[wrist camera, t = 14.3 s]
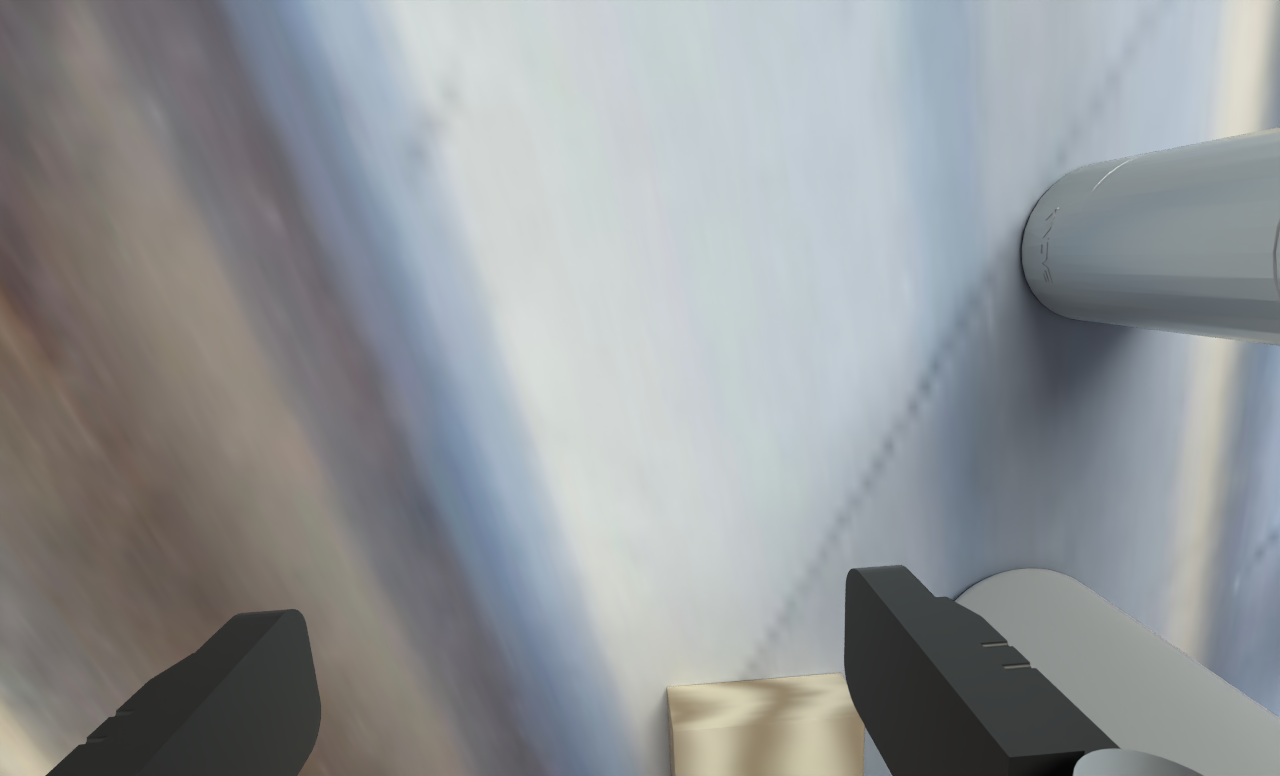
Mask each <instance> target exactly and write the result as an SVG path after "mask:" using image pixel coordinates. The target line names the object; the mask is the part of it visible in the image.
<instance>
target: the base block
mask: <svg viewBox="0 0 1280 776" xmlns="http://www.w3.org/2000/svg"><path fill="white" fill-rule="evenodd" d="M667 696H668V717H669V737H670V758H671V776H863V770H864V735H865V725H864V723H863V721H862V720H861V718H860V716H859V714H858V712H857V711H856V709H855V707H854V704H853V702H852V699H851V696H850V693H849V689H848V685H847V683H846V681H845V679H844V677H843V676H842V674H841V673H834V674H821V675H809V676H797V677H785V678H773V679H760V680H748V681H736V682H724V683H712V684H699V685H687V686H675V687H667Z"/></svg>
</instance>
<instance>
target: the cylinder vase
mask: <svg viewBox="0 0 1280 776" xmlns="http://www.w3.org/2000/svg"><path fill="white" fill-rule="evenodd" d="M955 602H956V603H958V604H960V605H962V606H964V607H966V608H967V609H969V610H971V611H973V612H975V613H977V614H978V615H980V616H982V617H983V618H984V619H985V620H986V621H987V622H988V623H989V624H990V625H991V626H992V627H993V628H994V629H996V630H997V631H998V632H999V633H1000V634H1001V635H1002V636H1003V637H1004V638H1005V639H1006V640H1007V641H1008V645H1009V646H1013V647H1014V648H1016V649H1017V650H1018V651H1019V652H1020V653H1021V654H1022V655H1023V656H1024V657H1025V658H1026V659H1027V660H1028V661H1029V662H1030V665H1031V668H1037V669H1038V670H1039V671H1040V672H1041V673H1042V674H1043V675H1044V676H1045V677H1046V678H1047V679H1048V680H1049V681H1050V682H1051V683H1052V684H1053V685H1054V686H1055V687H1057V688H1058V689H1059V690H1060V691H1061V692H1062V693H1063V694H1064V695H1065V696H1066V697H1067V698H1068V699H1069V700H1070V701H1071V702H1072V703H1073V704H1074V705H1075V706H1077V707H1078V708H1079V709H1080V710H1081V711H1082V712H1083V713H1084V714H1085V715H1086V716H1087V717H1088V718H1089V719H1090V720H1091V721H1092V722H1093V723H1094V724H1095V725H1097V726H1098V727H1099V728H1100V729H1101V730H1102V731H1103V732H1104V733H1105V734H1106V735H1107V736H1108V737H1109V738H1110V739H1111V740H1112V741H1113V742H1114V743H1115V744H1117V745H1118V746H1119V747H1120V748H1121V749H1129V750H1134V751H1140V752H1145V753H1149V754H1152V755H1156V756H1160V757H1162V758H1165V759H1168V760H1171V761H1173V762H1176V763H1178V764H1181V765H1183V766H1185V767H1187V768H1190V769H1192V770H1194V771H1196V772H1198V773H1200V774H1201V775H1203V776H1280V718H1279V717H1278V716H1276V715H1275V714H1273V713H1272V712H1270V711H1269V710H1267V709H1266V708H1264V707H1263V706H1261V705H1260V704H1258V703H1257V702H1256V701H1254V700H1253V699H1251V698H1250V697H1248V696H1247V695H1245V694H1244V693H1242V692H1241V691H1239V690H1238V689H1236V688H1235V687H1233V686H1232V685H1231V684H1229V683H1228V682H1226V681H1225V680H1223V679H1222V678H1220V677H1219V676H1217V675H1216V674H1214V673H1213V672H1211V671H1210V670H1208V669H1207V668H1206V667H1204V666H1203V665H1201V664H1200V663H1198V662H1197V661H1195V660H1194V659H1192V658H1191V657H1189V656H1188V655H1186V654H1185V653H1183V652H1182V651H1181V650H1179V649H1178V648H1176V647H1175V646H1173V645H1172V644H1170V643H1169V642H1167V641H1166V640H1164V639H1163V638H1161V637H1160V636H1159V635H1157V634H1156V633H1154V632H1153V631H1151V630H1150V629H1148V628H1147V627H1145V626H1144V625H1142V624H1141V623H1139V622H1138V621H1136V620H1135V619H1134V618H1132V617H1131V616H1129V615H1128V614H1126V613H1125V612H1123V611H1122V610H1120V609H1119V608H1117V607H1116V606H1114V605H1113V604H1111V603H1110V602H1109V601H1107V600H1106V599H1104V598H1103V597H1101V596H1100V595H1098V594H1097V593H1095V592H1094V591H1092V590H1091V589H1089V588H1088V587H1086V586H1085V585H1084V584H1082V583H1081V582H1079V581H1077V580H1075V579H1074V578H1072V577H1070V576H1067V575H1065V574H1062V573H1059V572H1056V571H1051V570H1046V569H1038V568H1024V569H1015V570H1010V571H1006V572H1002V573H999V574H996V575H993V576H991V577H988V578H986V579H984V580H982V581H980V582H978V583H977V584H975V585H973V586H972V587H970V588H969V589H968V590H966V591H965V592H964V593H963V594H961V595H960V596H959V597H958V598H957V599H956V600H955Z"/></svg>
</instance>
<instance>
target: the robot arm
mask: <svg viewBox="0 0 1280 776" xmlns="http://www.w3.org/2000/svg"><path fill="white" fill-rule="evenodd" d="M1022 265H1023V269H1024V273H1025V277H1026V280H1027V282H1028V284H1029V286H1030V288H1031V290H1032V292H1033V294H1034V295H1035V296H1036V297H1037V298H1038V300H1039V301H1040V302H1041V303H1042V304H1043V305H1044V306H1046V307H1047V308H1048V309H1050V310H1051V311H1053V312H1054V313H1057V314H1059V315H1061V316H1064V317H1066V318H1071V319H1078V320H1085V321H1092V322H1100V323H1107V324H1115V325H1123V326H1128V327H1136V328H1144V329H1152V330H1160V331H1168V332H1175V333H1183V334H1191V335H1199V336H1207V337H1215V338H1223V339H1231V340H1239V341H1246V342H1254V343H1262V344H1270V345H1278V346H1280V127H1278V128H1273V129H1268V130H1263V131H1258V132H1253V133H1248V134H1243V135H1238V136H1233V137H1228V138H1222V139H1217V140H1212V141H1207V142H1202V143H1197V144H1192V145H1187V146H1182V147H1177V148H1172V149H1167V150H1162V151H1155V152H1150V153H1145V154H1140V155H1135V156H1130V157H1125V158H1120V159H1115V160H1110V161H1105V162H1100V163H1096V164H1092V165H1088V166H1084V167H1081V168H1079V169H1077V170H1075V171H1073V172H1071V173H1069V174H1067V175H1065V176H1064V177H1063V178H1061V179H1060V180H1059V181H1057V182H1056V183H1055V184H1054V185H1052V186H1051V187H1050V189H1049V190H1048V191H1047V192H1046V193H1045V194H1044V195H1043V196H1042V198H1041V199H1040V200H1039V202H1038V203H1037V205H1036V207H1035V208H1034V210H1033V212H1032V213H1031V215H1030V218H1029V221H1028V223H1027V226H1026V229H1025V232H1024V238H1023V244H1022ZM844 666H845V675H846V681H847V685H848V689H849V693H850V696H851V699H852V702H853V704H854V707H855V709H856V711H857V712H858V714H859V716H860V718H861V720H862V721H863V723H864V725H865V727H866V729H867V730H868V732H869V734H870V736H871V738H872V739H873V741H874V743H875V745H876V747H877V748H878V750H879V752H880V754H881V756H882V757H883V759H884V761H885V763H886V765H887V766H888V768H889V770H890V772H891V774H892V776H1203V775H1201V774H1200V773H1198V772H1196V771H1194V770H1192V769H1190V768H1187V767H1185V766H1183V765H1181V764H1178V763H1176V762H1173V761H1171V760H1168V759H1165V758H1162V757H1160V756H1156V755H1152V754H1149V753H1145V752H1140V751H1134V750H1129V749H1121V748H1120V747H1119V746H1118V745H1117V744H1115V743H1114V742H1113V741H1112V740H1111V739H1110V738H1109V737H1108V736H1107V735H1106V734H1105V733H1104V732H1103V731H1102V730H1101V729H1100V728H1099V727H1098V726H1097V725H1095V724H1094V723H1093V722H1092V721H1091V720H1090V719H1089V718H1088V717H1087V716H1086V715H1085V714H1084V713H1083V712H1082V711H1081V710H1080V709H1079V708H1078V707H1077V706H1075V705H1074V704H1073V703H1072V702H1071V701H1070V700H1069V699H1068V698H1067V697H1066V696H1065V695H1064V694H1063V693H1062V692H1061V691H1060V690H1059V689H1058V688H1057V687H1055V686H1054V685H1053V684H1052V683H1051V682H1050V681H1049V680H1048V679H1047V678H1046V677H1045V676H1044V675H1043V674H1042V673H1041V672H1040V671H1039V670H1038V669H1037V668H1031V665H1030V662H1029V661H1028V660H1027V659H1026V658H1025V657H1024V656H1023V655H1022V654H1021V653H1020V652H1019V651H1018V650H1017V649H1016V648H1014V647H1013V646H1009V645H1008V641H1007V640H1006V639H1005V638H1004V637H1003V636H1002V635H1001V634H1000V633H999V632H998V631H997V630H996V629H994V628H993V627H992V626H991V625H990V624H989V623H988V622H987V621H986V620H985V619H984V618H983V617H982V616H980V615H978V614H977V613H975V612H973V611H971V610H969V609H967V608H966V607H964V606H962V605H960V604H958V603H956V602H955V601H953V600H951V599H949V598H947V597H935V596H934V595H933V594H932V593H931V592H930V591H929V590H928V589H927V588H926V587H925V586H924V585H923V584H922V583H921V582H920V581H919V580H918V579H917V578H916V577H915V576H914V575H913V574H912V573H911V572H910V571H909V570H908V569H907V568H906V567H904V566H902V565H894V566H881V567H868V568H854V569H851V570H850V571H849V572H848V575H847V579H846V597H845V647H844ZM320 720H321V702H320V696H319V691H318V685H317V680H316V674H315V669H314V664H313V658H312V653H311V647H310V642H309V636H308V631H307V626H306V622H305V619H304V617H303V615H302V614H301V613H300V612H299V611H298V610H295V609H289V610H276V611H262V612H249V613H240V614H237V615H235V616H234V617H232V618H231V619H230V620H229V621H228V622H227V623H226V624H225V625H224V626H223V627H222V628H221V629H219V630H218V631H217V632H216V633H215V634H214V635H213V636H212V637H211V638H210V639H209V640H208V641H207V642H206V643H205V644H204V645H203V646H202V647H201V648H200V649H198V650H197V651H196V652H195V653H193V654H191V655H190V656H188V657H186V658H185V659H183V660H181V661H180V662H178V663H177V664H175V665H173V666H172V667H170V668H168V669H167V670H165V671H164V672H162V673H160V674H159V675H157V676H155V677H154V678H152V679H151V680H149V681H148V682H147V683H146V684H145V685H144V686H143V687H142V688H141V689H139V690H138V691H137V692H136V693H135V694H134V695H133V696H132V697H131V698H130V699H129V700H127V701H126V702H125V703H124V704H123V705H122V706H121V707H120V708H119V709H118V710H117V711H116V715H115V717H109V718H108V719H107V720H106V721H105V722H103V723H102V724H101V725H100V726H99V727H98V728H97V729H96V730H95V731H94V732H93V733H91V734H90V735H89V736H88V737H87V742H86V744H82V745H78V746H77V747H76V748H75V749H74V750H73V751H72V752H71V753H70V754H69V755H68V756H66V757H65V758H64V759H63V760H62V761H61V762H60V763H59V764H58V765H57V766H56V767H54V768H53V769H52V770H51V771H50V772H49V773H48V774H47V775H46V776H297V775H298V774H299V772H300V770H301V769H302V767H303V765H304V764H305V762H306V760H307V759H308V757H309V755H310V753H311V752H312V750H313V747H314V745H315V742H316V739H317V736H318V732H319V727H320Z"/></svg>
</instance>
